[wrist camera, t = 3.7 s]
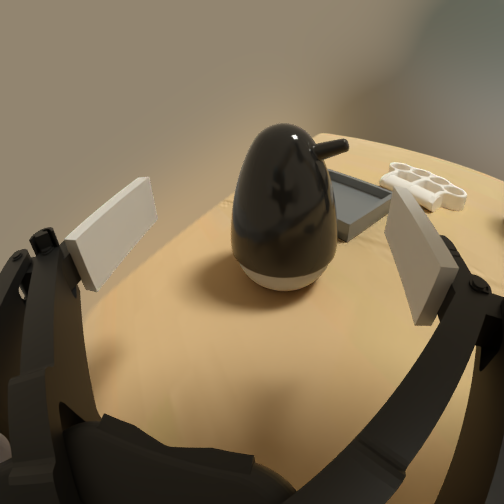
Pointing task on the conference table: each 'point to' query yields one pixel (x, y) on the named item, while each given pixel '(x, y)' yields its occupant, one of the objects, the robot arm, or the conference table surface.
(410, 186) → the knuckle duster
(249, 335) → the conference table surface
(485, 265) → the conference table surface
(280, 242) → the pump dispenser
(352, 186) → the holder tray
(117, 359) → the conference table surface
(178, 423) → the conference table surface
